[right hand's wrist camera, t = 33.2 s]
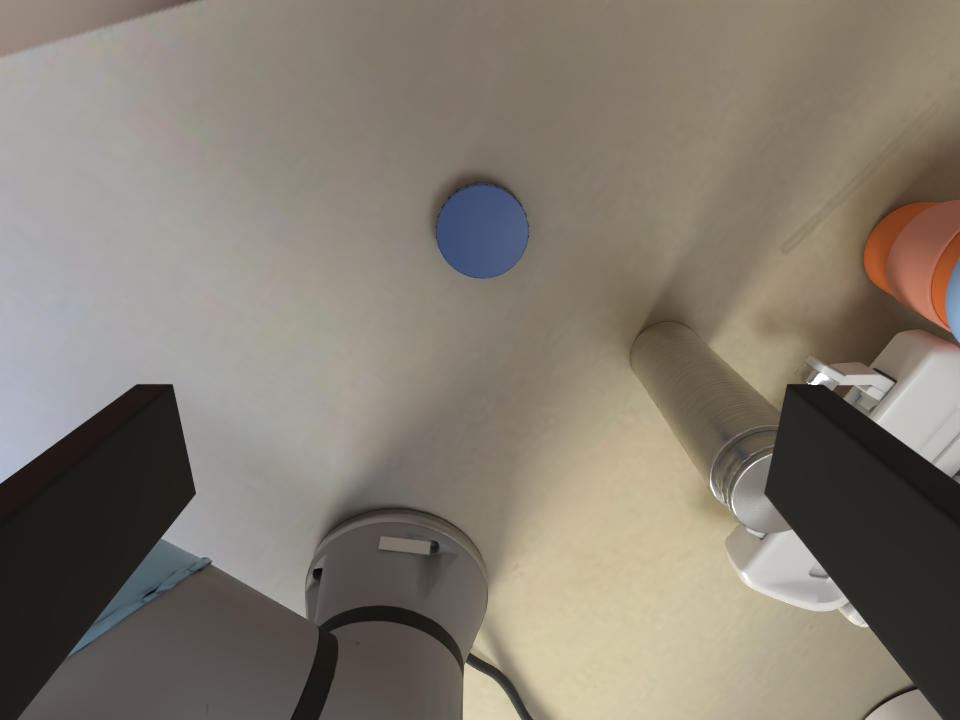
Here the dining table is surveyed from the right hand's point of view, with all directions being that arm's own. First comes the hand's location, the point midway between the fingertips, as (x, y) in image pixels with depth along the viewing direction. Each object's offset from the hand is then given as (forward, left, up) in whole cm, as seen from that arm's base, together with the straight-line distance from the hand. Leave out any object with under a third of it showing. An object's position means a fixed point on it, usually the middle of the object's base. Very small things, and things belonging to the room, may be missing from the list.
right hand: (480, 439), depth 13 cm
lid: (0, 0, -27) cm, 27 cm away
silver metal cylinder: (-12, -10, -28) cm, 33 cm away
